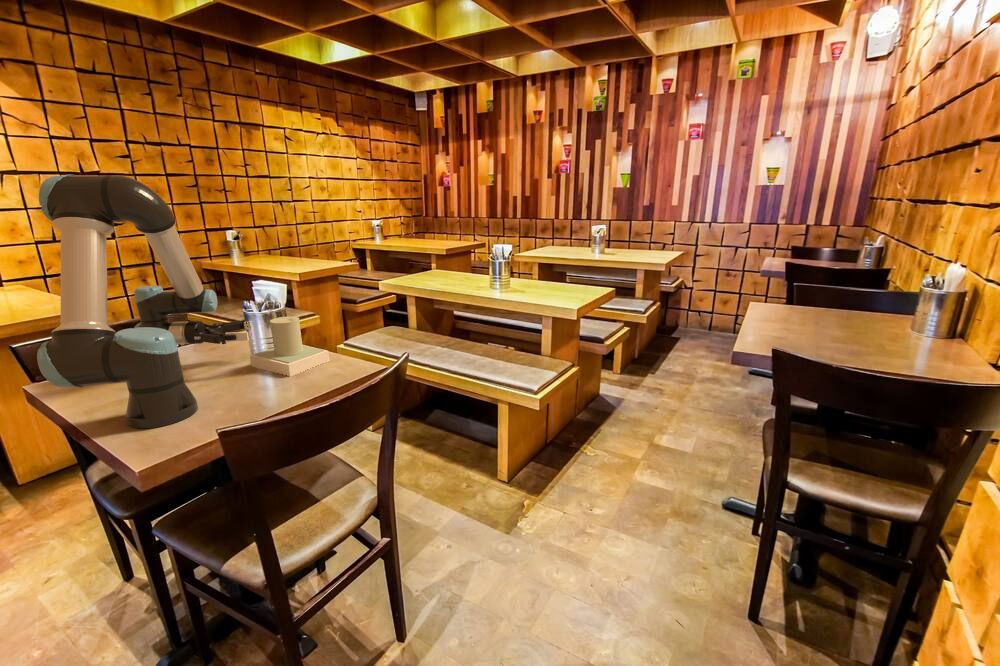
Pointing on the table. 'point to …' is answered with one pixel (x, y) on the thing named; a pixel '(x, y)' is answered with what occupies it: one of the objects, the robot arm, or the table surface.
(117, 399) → the table surface
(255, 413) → the table surface
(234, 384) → the table surface
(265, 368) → the block
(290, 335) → the can
